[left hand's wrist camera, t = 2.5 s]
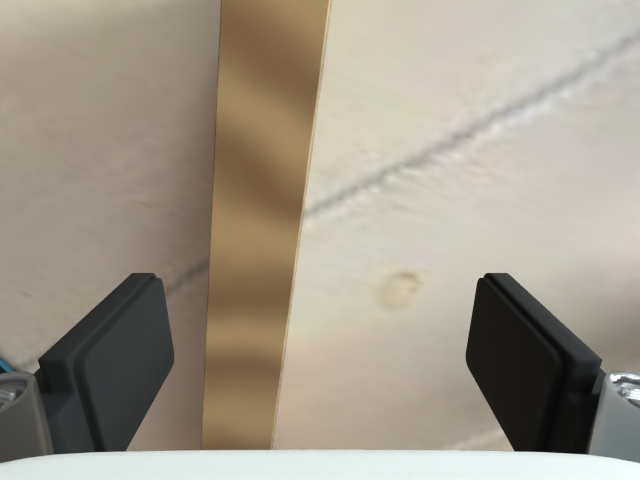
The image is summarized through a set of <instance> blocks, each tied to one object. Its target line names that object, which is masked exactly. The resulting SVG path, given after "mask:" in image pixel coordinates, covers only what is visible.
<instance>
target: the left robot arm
mask: <svg viewBox="0 0 640 480" xmlns="http://www.w3.org/2000/svg"><path fill="white" fill-rule="evenodd" d="M38 362H39V365H40V368H39V369H38V370H37V371H36V372H35V373H34V374H31V373H29V372H24V371H14V372H7V373H3V374H0V480H640V374H637V373H633V372H626V371H616V372H611V373H609V374H606V373H605V372H604V371H603V370H602V369H601V368H600V365H601V362H602V359H601V358H600V357H598V356H597V355H596V354H595V353H594V352H593V351H592V350H591V349H590V348H589V347H588V346H586V345H585V344H584V343H583V342H582V341H581V340H580V339H579V338H578V337H577V336H576V335H575V334H573V333H572V332H571V331H570V330H569V329H568V328H567V327H566V326H565V325H564V324H563V323H561V322H560V321H559V320H558V319H557V318H556V317H555V316H554V315H553V314H552V313H551V312H549V311H548V310H547V309H546V308H545V307H544V306H543V305H542V304H541V303H540V302H539V301H537V300H536V299H535V298H534V297H533V296H532V295H531V294H530V293H529V292H528V291H527V290H525V289H524V288H523V287H522V286H521V285H520V284H519V283H518V282H517V281H516V280H515V279H513V278H512V277H511V276H510V275H509V274H507V273H486V274H485V275H484V277H483V278H480V279H479V280H478V282H477V288H476V294H475V300H474V306H473V312H472V319H471V325H470V331H469V337H468V343H467V350H466V363H467V366H468V368H469V370H470V372H471V374H472V375H473V377H474V379H475V381H476V383H477V384H478V386H479V388H480V390H481V392H482V393H483V395H484V397H485V399H486V401H487V402H488V404H489V406H490V408H491V410H492V411H493V413H494V415H495V417H496V419H497V420H498V422H499V424H500V426H501V428H502V429H503V431H504V433H505V435H506V437H507V438H508V440H509V442H510V444H511V446H512V447H513V449H514V451H515V452H509V451H458V450H182V451H131V452H125V451H126V449H127V447H128V446H129V444H130V442H131V440H132V438H133V437H134V435H135V433H136V431H137V429H138V428H139V426H140V424H141V422H142V420H143V419H144V417H145V415H146V413H147V411H148V410H149V408H150V406H151V404H152V402H153V401H154V399H155V397H156V395H157V393H158V392H159V390H160V388H161V386H162V384H163V383H164V381H165V379H166V377H167V375H168V374H169V372H170V370H171V368H172V366H173V363H174V350H173V343H172V337H171V331H170V325H169V319H168V312H167V306H166V300H165V294H164V288H163V282H162V280H161V279H160V278H157V277H156V275H155V274H154V273H133V274H131V275H130V276H129V277H128V278H127V279H125V280H124V281H123V282H122V283H121V284H120V285H119V286H118V287H117V288H116V289H115V290H113V291H112V292H111V293H110V294H109V295H108V296H107V297H106V298H105V299H104V300H103V301H101V302H100V303H99V304H98V305H97V306H96V307H95V308H94V309H93V310H92V311H91V312H89V313H88V314H87V315H86V316H85V317H84V318H83V319H82V320H81V321H80V322H79V323H77V324H76V325H75V326H74V327H73V328H72V329H71V330H70V331H69V332H68V333H67V334H65V335H64V336H63V337H62V338H61V339H60V340H59V341H58V342H57V343H56V344H55V345H54V346H52V347H51V348H50V349H49V350H48V351H47V352H46V353H45V354H44V355H43V356H42V357H40V358H39V359H38Z"/></svg>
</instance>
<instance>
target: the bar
mask: <svg viewBox="0 0 640 480" xmlns="http://www.w3.org/2000/svg"><path fill="white" fill-rule="evenodd" d="M331 6H332V0H221V16H220V38H219V60H218V83H217V105H216V127H215V149H214V171H213V193H212V216H211V238H210V260H209V282H208V304H207V326H206V349H205V371H204V393H203V415H202V437H201V450H272V447H273V440H274V433H275V425H276V418H277V410H278V403H279V395H280V388H281V380H282V373H283V365H284V358H285V350H286V343H287V335H288V328H289V320H290V313H291V305H292V298H293V290H294V283H295V276H296V268H297V261H298V253H299V246H300V238H301V231H302V223H303V216H304V208H305V201H306V193H307V186H308V178H309V171H310V163H311V156H312V148H313V141H314V134H315V126H316V119H317V111H318V104H319V96H320V89H321V81H322V74H323V66H324V59H325V51H326V44H327V36H328V29H329V21H330V14H331Z"/></svg>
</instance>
